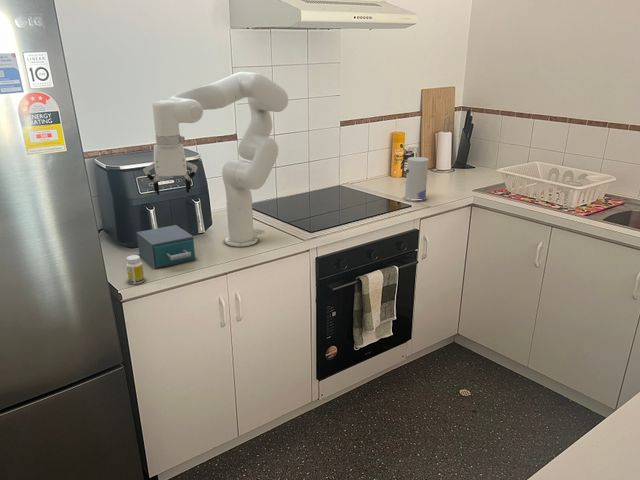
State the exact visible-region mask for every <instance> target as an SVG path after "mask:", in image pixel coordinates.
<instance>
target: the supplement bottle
mask: <svg viewBox="0 0 640 480" xmlns="http://www.w3.org/2000/svg"><path fill="white" fill-rule="evenodd" d="M126 272H127V273H126V274H127V279H128V283H129V284H131V285H138V284H141V283H144V281H145V276H144V269H143V262H142V261H141V256H140V255H138V254H132V255H128V256H127V257H126Z"/></svg>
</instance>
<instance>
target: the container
mask: <svg viewBox="0 0 640 480" xmlns="http://www.w3.org/2000/svg"><path fill="white" fill-rule="evenodd" d="M406 160H407V161H406V162H407V164H406V177H405V190H404V191H405V192H404V195H405V196H404V199H405V200H406V201H409V202H416V203H417V202H424V201H426V198H427V185H428V184H427V183H428V171H429V162H430V161H429V160H430V159H429V158H427V157H422V156H411V157H408V158H407V159H406ZM405 197H406V198H405ZM425 197H426V198H425ZM407 198H409V199H407ZM424 198H425V199H424ZM411 199H422V200H411Z"/></svg>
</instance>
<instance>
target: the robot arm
mask: <svg viewBox="0 0 640 480" xmlns="http://www.w3.org/2000/svg"><path fill="white" fill-rule="evenodd" d="M245 98H246V99H247V102H248V106H249V110H250V121H249V124H248V126H247V128H246V130H245V132H244V134H243V136H242V138H241V140H240V142H239V144H238V147H237V153H238V155H239V156H240V158H242V159H234V158H233V159H230V160H227V161H226V162H225V163H224V164H223V166H222V169H221V176H222V181H223V185H224V190H225V198H226V214H227V216H226V217H227V230H228V231H227V232H228V236H226V237H225V239H224V243H225V244H226V245H228V246H231V247H237V248H240V247H249V246H253V245H255V244H256V243H258V241H259V238H258V237H257V236H258V235H263V234H265V233H266V230H265V229H264V228H258V227H257V228H254V212H253V196H252V191H251V190H259V189H261V188H262V187H263V186H264V185H265V184H266V181H267V179H268V178H269V175H270V173H271V172H272V169H273V168H274V165H275V164H276V162H277V159H278V156H279V145H278V142H277V141H276V140H275V139H274V138H272V137H270V135H271V133H272V131H273V120H272V117H271V112H272V113H280V112H283V111H284V110H286V108H287V107H288V104H289V95H288V93H287V92H286V90H285V89H284V88H283V87H281V86H280V85H279V84H277V83H276V82H274V81H273V80H272V79H270V78H268V77H267V76H266V75H263V74H262V73H259V72H251V71H239V72H235V73H233V74H231V75H229V76H226V77H223V78H222V79H219V80H217V81H214V82H212V83H208V84H205V85H201V86H198V87H194V88H190V89H186V90H184V91H180V92H179V93H176V94H174V95H172V96H170V97H168V98H167V99H162V100H161V99H160V100H159V99H158V100H155V101H153V103H152V114H153V122H154V124H153V125H154V133H155V143H156V144H153V162H152V163H151V164H149V165H148V166H146V167H144V168H143V169H142V171H143V173H144V175H145V176H146V177H147V179H149V180H150V181H151V182H152V183H153V191H154V192H155V193H156V195H157V196H159V195H160V187H159V181H158V180H159V179H160V178H163V177H164V178H165V177H180V176H183V177H184V178H185V179H184V182H185V184H184V185H185V192H186V193H188V194H189V193H190V190H192V189H191V187H192V186H191V180H192V179H194V177H195V176H196V173H197V172H198V168H199V167H198V165H195V164H194V163H191V162H188V161H187V159H186V153H185V148H184V144H183V143H182V142H184V141H185V140H186V139H185V135H183V136H182V135H181V132H180V124H195V123H198V122H199V121H201V119H202V117H203V115H204V111H206V110H218V109H223V108H226V107H227V106H230V105H232V104H234V103H236V102H238V101H240V100H242V99H245ZM243 159H244V160H243ZM188 168H190V169H191V171H190V172H189V174H188ZM152 170H154V173H155V174H154V176H153V174H151V173H150V171H152Z"/></svg>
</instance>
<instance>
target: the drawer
mask: <svg viewBox="0 0 640 480" xmlns="http://www.w3.org/2000/svg"><path fill="white" fill-rule="evenodd" d="M193 240H194V239H193ZM193 240H192V239H191V240H185V241H180V242H175V243H170V244H165V245H160V246H155V247H154V251H155V259H156V266H157V267H159V266H164V265H168V264H173V263H177V262H182V261H186V260H191V259H195V260H196V254H195V255H194V251H195V243H194V244H193Z"/></svg>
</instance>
